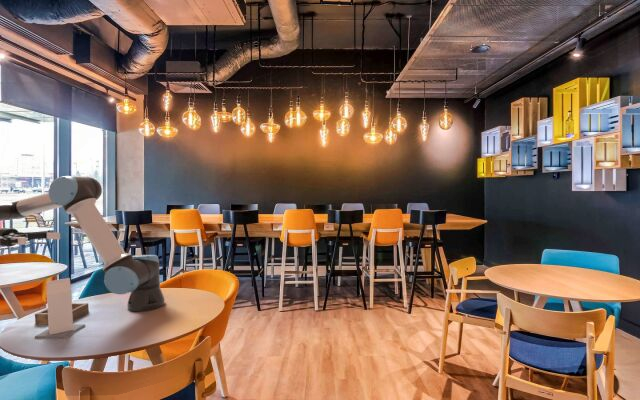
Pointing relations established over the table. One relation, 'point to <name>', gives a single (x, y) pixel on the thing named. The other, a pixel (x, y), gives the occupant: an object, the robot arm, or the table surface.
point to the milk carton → (59, 306)
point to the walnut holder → (77, 312)
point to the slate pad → (60, 335)
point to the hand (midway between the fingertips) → (43, 238)
